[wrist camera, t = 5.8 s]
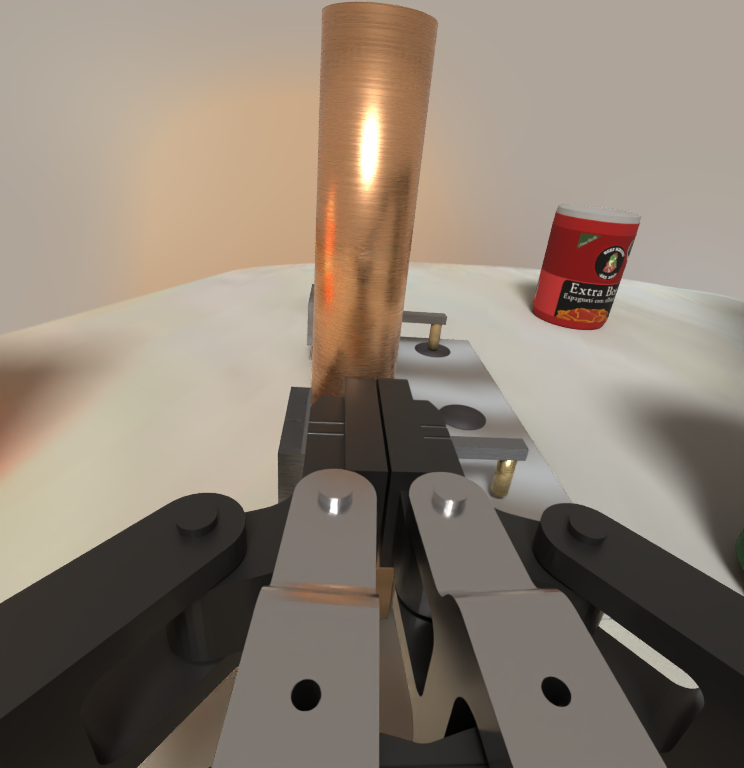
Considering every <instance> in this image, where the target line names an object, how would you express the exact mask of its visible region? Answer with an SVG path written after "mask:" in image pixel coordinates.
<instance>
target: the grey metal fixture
mask: <svg viewBox="0 0 744 768" xmlns="http://www.w3.org/2000/svg"><path fill="white" fill-rule="evenodd" d="M313 316H314V284H312V288H311V293H310V298H309V303H308V338H307V345H313ZM446 320H447V316H446V315H445V314H442V313H427V312H411V311H403V317H402V322H410V323H426V324H431V329H430V336H429V338H415V337H400V341H399V350H398V358H397V366H396V374H395V379H407V380H408V382H409V386H410V390H411V393H412V397H413V400H429V401H430V402H431V403H432V404H433V405H434V406H435V407H436V408H437V409H439V410H440V411H441V412H442V415H443V418H444V420H445V423H446V428H447V429H448V431H449V434H450V436H465V437H491V438H517V439H523V440H524V442H525V444H526V445H527V447H528V449H529V451H528V455H527V458H526V461H517V465H516V468H515V472H514V475H513V479H512V482H511V486H510V489H509V493H508V495H507V496H505V497H500V496H497V495H495V494H493V493H492V492H491V485H492V481H493V477H494V473H495V469H496V465H497V461H498V460H482V459H459V461H460V464H461V467H462V469H463V472H464V475H465V477H466V478H468V479H470V480H471V481H473V482H475V483H476V484H477V485H479V486H480V487H481V488H482V489H483V490H484V491H485V493H486V494H487V496H488V498H489V500H490V502H491V503H492V505H493V507H494V508H496V509H498V510H501V511H503V512H507V513H510V514H514V515H517V516H521V517H525V518H529V519H533V520H537V521H540V519H541V516H542V514H543V512H544V511H545V509H546V508H548V507H550V506H552V505H554V504H559V503H572V501H571V500H570V498H569V496H568V495H567V493H566V492H565V490H564V489H563V487H562V486H561V484H560V482H559V481H558V479H557V478H556V476H555V475H554V473H553V472H552V470H551V468H550V467H549V465H548V464H547V462H546V461H545V459H544V458H543V456H542V454H541V453H540V451H539V450H538V448H537V447H536V445H535V444H534V442H533V440H532V439H531V437H530V436H529V434H528V433H527V431H526V430H525V428H524V426H523V425H522V423H521V422H520V420H519V419H518V417H517V416H516V414H515V413H514V411H513V409H512V408H511V406H510V405H509V403H508V402H507V400H506V399H505V397H504V395H503V394H502V392H501V391H500V389H499V388H498V386H497V385H496V383H495V381H494V380H493V378H492V377H491V375H490V374H489V372H488V371H487V369H486V367H485V366H484V364H483V363H482V361H481V360H480V358H479V357H478V355H477V353H476V352H475V350H474V349H473V347H472V346H471V344H470V343H469V341H466V340H449V339H440V333H441V327H442V325H446ZM393 579H394V568H391V567H379V556H377V564H376V593H377V594H378V595H379V618H388V611H389V605H390V598H391V592H392V585H393ZM602 619H612V618H610V617H609V616H608V615H606V614H605V613H604V615H603V617H602Z"/></svg>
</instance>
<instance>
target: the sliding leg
mask: <svg viewBox="0 0 744 768" xmlns="http://www.w3.org/2000/svg"><path fill="white" fill-rule="evenodd" d="M437 28H438V22H437V20H436V19H435V18H433V17H432V16H430V15H428V14H426V13H424V12H421V11H418V10H415V9H411V8H407V7H402V6H397V5H391V4H383V3H373V2H345V3H337V4H332V5H329V6H327V7H325V8H324V9H323V10H322V36H321V37H322V38H321V71H320V107H319V141H318V144H319V145H318V177H317V211H316V246H315V281H314V316H313V351H312V386H311V388H303V387H291V391H290V396H289V401H288V406H287V411H286V416H285V421H284V426H283V431H282V436H281V440H280V445H279V450H278V504H279V503H281V502H282V501H284V500H286V499H287V498H289V497H290V496H291V495H292V494H293V493H294V490H295V487H296V486H297V484H298V483H299V482H300V481H301V480H302V476H303V467H304V459H305V450H306V441H307V434H308V424H309V416H310V407H311V406H312V405H313V404H314V403H315V402H316V400H317V399H318V398H319V397H320V396H339V397H343V384H344V376H349V377H370V378H375V382H376V379H377V378H393V379H395V374H396V366H397V358H398V350H399V341H400V333H401V325H402V317H403V308H404V300H405V292H406V284H407V275H408V267H409V258H410V251H411V242H412V234H413V226H414V218H415V209H416V200H417V193H418V184H419V176H420V168H421V159H422V151H423V143H424V135H425V127H426V118H427V110H428V102H429V94H430V85H431V77H432V69H433V61H434V53H435V44H436V36H437ZM450 440H452V442H453V445H454V448H455V450H456V453H457V456H458V459H482V460H498V461H497V465H496V469H495V473H494V477H493V481H492V485H491V492H492V493H493V494H495V495H497V496H500V497H505V496H507V495H508V493H509V489H510V486H511V482H512V479H513V475H514V472H515V468H516V465H517V461H526V458H527V455H528V451H529V449H528V447H527V445H526V444H525V442H524V440H523V439H517V438H491V437H465V436H450Z"/></svg>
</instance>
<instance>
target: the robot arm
mask: <svg viewBox="0 0 744 768" xmlns="http://www.w3.org/2000/svg"><path fill="white" fill-rule="evenodd" d="M377 556H379V567H391V568H394V577H395V586H394V592H393V599H392V605H393V611H394V617H395V622H396V627H397V632H398V637H399V643H400V648H401V653H402V658H403V663H404V669H405V674H406V679H407V684H408V689H409V694H410V700H411V705H412V713H413V742H412V741H408V740H404V739H401V738H397V737H394V736H390V735H386V734H383V733H379V595H378V594H377V593H376V564H377ZM604 613H605V614H606V615H608V616H609V617H610V618H612V619H613V620H615V621H616V622H617V623H619V624H620V625H621V626H623V627H624V628H626V629H627V630H628V631H630V632H631V633H632V634H634V635H635V636H637V637H638V638H639V639H641V640H642V641H643V642H645V643H646V644H648V645H649V646H650V647H652V648H653V649H654V650H656V651H657V652H659V653H660V654H661V655H663V656H664V657H665V658H667V659H668V660H670V661H671V662H672V663H674V664H675V665H676V666H678V667H679V668H681V669H682V670H683V671H684V672H686V673H687V674H688V675H689V676H690V677H691V678H692V679H693V680H694V681H695V682H696V684H697V685H698V686H699V688H696V689H689V688H685V687H682V686H679V685H677V684H675V683H674V682H672V681H671V680H669V679H668V678H667V677H665V676H664V675H663V674H661V673H660V672H659V671H657V670H656V669H655V668H653V667H652V666H651V665H649V664H648V663H647V662H645V661H644V660H643V659H641V658H640V657H639V656H637V655H636V654H635V653H633V652H632V651H631V650H629V649H628V648H627V647H625V646H624V645H623V644H621V643H620V642H619V641H617V640H616V639H615V638H613V637H612V636H611V635H609V634H608V633H607V632H605V631H604V630H603V629H601V628H600V627H599V626H598V625H599V623H600V621H601V619H602V617H603V615H604ZM239 663H240V665H239ZM238 665H239V668H238V672H237V676H236V679H235V683H234V687H233V690H232V694H231V698H230V701H229V705H228V709H227V712H226V716H225V720H224V723H223V727H222V731H221V735H220V738H219V742H218V746H217V749H216V753H215V757H214V760H213V764H212V766H210V767H209V768H744V596H742V595H740V594H739V593H737V592H735V591H733V590H732V589H730V588H728V587H727V586H725V585H723V584H722V583H720V582H718V581H716V580H715V579H713V578H711V577H710V576H708V575H706V574H705V573H703V572H701V571H699V570H698V569H696V568H694V567H693V566H691V565H689V564H688V563H686V562H684V561H682V560H681V559H679V558H677V557H676V556H674V555H672V554H671V553H669V552H667V551H665V550H664V549H662V548H660V547H659V546H657V545H655V544H654V543H652V542H650V541H648V540H647V539H645V538H643V537H642V536H640V535H638V534H637V533H635V532H633V531H631V530H630V529H628V528H626V527H625V526H623V525H621V524H620V523H618V522H616V521H614V520H613V519H611V518H609V517H608V516H606V515H604V514H602V513H600V512H599V511H597V510H594V509H592V508H589V507H586V506H583V505H579V504H573V503H559V504H554V505H552V506H550V507H548V508H546V509H545V511H544V512H543V514H542V516H541V519H540V521H537V520H533V519H529V518H525V517H521V516H517V515H514V514H510V513H507V512H503V511H501V510H498V509H496V508H494V507H493V505H492V503H491V502H490V500H489V498H488V496H487V494H486V493H485V491H484V490H483V489H482V488H481V487H480V486H479V485H477V484H476V483H475V482H473V481H471V480H470V479H468V478H466V477H465V475H464V472H463V469H462V467H461V464H460V461H459V459H458V456H457V453H456V450H455V448H454V445H453V442H452V440H450V434H449V431H448V429H447V428H446V423H445V420H444V418H443V415H442V412H441V411H440V410H439V409H437V408H436V407H435V406H434V405H433V404H432V403H431V402H430V401H429V400H413V397H412V393H411V390H410V386H409V382H408V380H407V379H393V378H377V379H376V382H375V378H370V377H349V376H344V384H343V397H339V396H320V397H319V398H318V399H317V400H316V402H315V403H314V404H313V405H312V406H311V407H310V416H309V424H308V434H307V441H306V450H305V459H304V467H303V476H302V480H301V481H300V482H299V483H298V484H297V486H296V487H295V490H294V493H293V494H292V495H291V496H290V497H289V498H287V499H286V500H284V501H282V502H281V503H279V504H276V505H274V506H271V507H267V508H263V509H259V510H254V511H250V512H245V513H244V510H243V508H242V507H241V505H240V504H239V503H238V502H236V501H235V500H234V499H232V498H230V497H228V496H225V495H222V494H216V493H198V494H192V495H188V496H185V497H182V498H179V499H177V500H175V501H173V502H171V503H169V504H167V505H166V506H164V507H162V508H160V509H159V510H157V511H155V512H154V513H152V514H150V515H149V516H147V517H145V518H144V519H142V520H140V521H139V522H137V523H135V524H133V525H132V526H130V527H128V528H127V529H125V530H123V531H122V532H120V533H118V534H117V535H115V536H113V537H112V538H110V539H108V540H106V541H105V542H103V543H101V544H100V545H98V546H96V547H95V548H93V549H91V550H90V551H88V552H86V553H85V554H83V555H81V556H79V557H78V558H76V559H74V560H73V561H71V562H69V563H68V564H66V565H64V566H63V567H61V568H59V569H58V570H56V571H54V572H52V573H51V574H49V575H47V576H46V577H44V578H42V579H41V580H39V581H37V582H36V583H34V584H32V585H31V586H29V587H27V588H26V589H24V590H22V591H20V592H19V593H17V594H15V595H14V596H12V597H10V598H9V599H7V600H5V601H4V602H2V603H0V768H137V767H138V766H139V765H140V764H141V763H142V762H143V761H144V760H145V759H146V758H147V757H148V756H149V755H150V754H151V753H152V752H153V751H154V750H155V749H156V748H157V747H158V746H159V745H160V744H161V743H162V742H163V741H164V740H165V739H166V738H167V737H168V736H169V735H170V734H171V733H172V732H173V731H174V729H175V728H176V727H177V726H178V725H179V724H180V723H181V722H182V721H183V720H184V719H185V718H186V717H187V716H188V715H189V714H190V713H191V712H192V711H193V710H194V709H195V708H196V707H197V706H198V705H199V704H200V703H201V702H202V701H203V700H204V699H205V698H206V697H207V696H208V695H209V694H210V693H211V692H212V691H213V690H214V689H215V688H216V687H217V686H218V685H219V684H220V683H221V682H222V681H223V680H224V679H225V678H226V677H227V676H228V675H229V674H230V673H231V672H232V671H233V670H234V669H235V668H236V667H237V666H238Z"/></svg>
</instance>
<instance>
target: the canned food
mask: <svg viewBox="0 0 744 768" xmlns="http://www.w3.org/2000/svg"><path fill="white" fill-rule="evenodd" d="M640 219H641V216H640V215H639V214H636V213H632V212H627V211H621V210H615V209H609V208H601V207H593V206H583V205H567V204H566V205H565V204H563V205H559V206H558V208H557V211H556V214H555V218H554V221H553V224H552V228H551V233H550V237H549V241H548V245H547V249H546V253H545V257H544V261H543V265H542V269H541V273H540V277H539V281H538V285H537V289H536V293H535V297H534V301H533V312H534V314H535V315H536V316H537V317H539V318H540V319H542V320H544V321H547V322H549V323H552V324H555V325H558V326H562V327H567V328H572V329H581V330H592V329H597V328H600V327H602V326H603V325H604V323H605V322H606V320H607V319H608V316H609V313H610V310H611V307H612V304H613V301H614V299H615V296H616V293H617V290H618V287H619V284H620V281H621V278H622V275H623V272H624V269H625V266H626V263H627V260H628V257H629V254H630V251H631V249H632V246H633V243H634V240H635V236H636V234H637V230H638V227H639V224H640Z"/></svg>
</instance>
